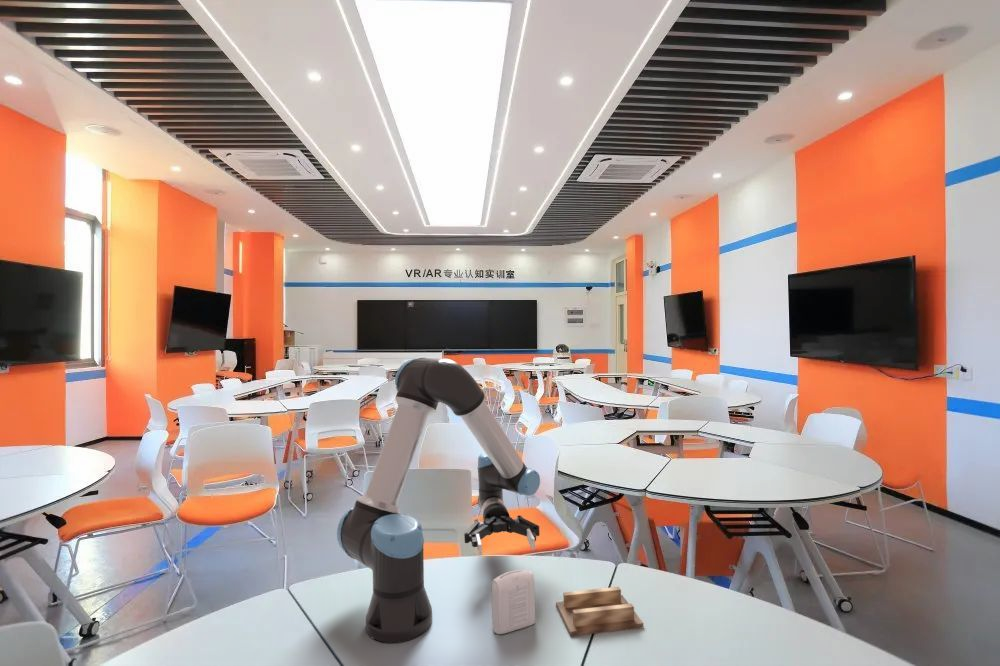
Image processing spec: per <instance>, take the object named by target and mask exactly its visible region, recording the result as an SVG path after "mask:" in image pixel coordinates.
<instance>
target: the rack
mask: <svg viewBox="0 0 1000 666" xmlns="http://www.w3.org/2000/svg"><path fill="white" fill-rule="evenodd" d="M562 595H563V601H556V602H555V607H556V609H557V611H558V613H559V615H560V617H561V619H562V622H563V624H564V626H565V627H566V630H567V632H568V635H569V636H570V637H574V636H583V635H592V634H601V633H609V632H610V633H611V632H619V631H626V629H628V630H636V629H643V628H644V622H643V621H642V620H641V618H640V616H639V615H638V614H637V613H636V611H635V606H634V605H633V603H629V602H628V600H627V599H626V598H625V597H624V596H623V595H622V589H621V588H620V587H619V586H614V587H613V586H612V587H604V588H603V587H602V588H593V589H584V590H583V589H582V590H574V591H567V592H566V591H563V594H562ZM642 627H643V628H642ZM635 628H636V629H635Z"/></svg>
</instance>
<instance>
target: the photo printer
mask: <svg viewBox="0 0 1000 666" xmlns="http://www.w3.org/2000/svg"><path fill="white" fill-rule="evenodd" d="M535 586H536V585H535V578H534V573H533V572H531V571H530V570H528V569H515V570H509V571H507V572H504V573H501V574H500V575H498V576H496V577H495V578H494V579H492V582H491V621H492V622H491V623H492V631H493V632H494V633H495V634H497V635H504V634H506V633H511V632H513V631H517V630H520V629H524V628H527V627H530V626H532V625H534V624H535V622H536V612H535V611H536V610H535V609H536V605H535V604H536V602H535V601H536V598H535V597H536V596H535V593H536V592H535V588H536V587H535Z"/></svg>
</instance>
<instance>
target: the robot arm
mask: <svg viewBox="0 0 1000 666" xmlns="http://www.w3.org/2000/svg"><path fill="white" fill-rule="evenodd" d="M394 377H395V378H394V385H395V389H396V391H397V392H396V394H395V399H394V400H395V401H396V404H397V408H396V411H395V414H394V416H393V419H392V421H391V424H390V426H389V430H388V432H387V435H386V437H385V440H384V443H383V445H382V448H381V450H380V454H379V456H378V459H377V462H376V464H375V467H374V470H373V473H372V475H371V478H370V480H369V482H368V485H367V488H366V491H365V493H364V494H363V495H360V496H359V497H358V498H356V501H355V503H354V506H353V507H351V508H349V510H348V511H346V512H344V514H343V515H342V516H341V518H340V519H339V522H338V524H337V529H336V540H337V542H338V545H339V547H340V548H341V550H342V551H343V552H345V554H346V556H348V557H350V558H351V559H353V560H356V561H357V562H359V563H360V564H362V565H364V566H366V567H368V569H370V570H371V571H372V595H371V599H370V602H369V605H368V609H367V611H366V612H367V613H366V615H365V630H366V634H367V635H368V634H369V635H370V636H371V637H373V638H374V639H373V638H372V639H373V640H375V639H376V640H375V641H377V640H378V642H380V641H382V643H388V644H389V643H391V644H393V643H394V644H395V643H402V642H406V641H410V640H413V639H416V638H418V637H420V636H421V635H422V634H424V633H425V632H426V631H427V630H428V629H429V628H430V626H431V625H432V622H433V609H432V608H433V607H432V605H431V602H430V599H429V596H428V594H427V593H428V592H427V590H426V588H425V576H424V575H425V573H424V572H425V570H424V566H425V565H424V563H425V562H424V561H425V560H424V543H425V538H424V532H423V527H422V525H421V523H420V522H419V520H418V519H416V517H414V516H411V515H407V514H403V515H401V510H400V508H399V506H398V503H399V500H400V496H401V494H402V491H403V487H404V484H405V482H406V479H407V476H408V474H409V471H410V468H411V465H412V462H413V460H414V458H415V457H414V456H415V453H416V450H417V448H418V445H419V442H420V439H421V436H422V434H423V431H424V429H425V425H426V423H427V420H428V417H429V416H430V415H431V414H434V413H436V411H437V407H438V405H439V403H442V404H443V405H445V406H447V407H448V408H449V409H450V410H451V411H452V413H453V414H454V415H455V416H456V417H460V418H461V420H463V423H464V424H465V425H466V426H467V428H468V429H469V430H470V433H471V434H472V435H473V436H474V438H475V439H476V441H477V443H478V444H479V445H480V447H481V448H482V450H483V451H484V453H483V452H482V453H481V454H479V455H478V457H477V477H478V479H477V480H478V481H477V482H478V496H477V505H478V508H479V509H480V513H481V516H482V520H483V521H481V520H479V519H477V518H476V519H474V520H473V523H471V525H470V526H469V528H468V529H466V531H465V532H464V534H463V535H464V537H463V538H464V543H465V544H468V543H471V547H473V548H476V549H477V553H478V556H483V552H482V551H483V549H482V545H483V544H482V540H483V539H484V538H485V537H487V536H491V535H492V534H493V533H494V534H498V533H502V532H503V533H504V532H507V533H510V534H512V533H515V534H517V535H521V536H525V537H526V540H527V541H528V544H529V547H530V548H531V550H532V551H533V550H536V541H537V537H539V536H540V525H538V524H536V523H534V522H532V521H530V520H528V519H526V518H524V517H523V516H522V515H517V516H516V518H513V517H511V516H510V514H509V510H508V509H507V506H506V504H505V502H504V496H503V495H504V493H503V491H504V490H506V491H508V492H512V493H516V494H517V495H523V496H527V497H529V496H534V495H535V494H536V493H537V492H538V490H539V488H540V485H541V478H540V477H541V476H540V473H539V472H538V471H537V470H536V469H532V468H530V467H527V466H526V465H525V462H523V459H522V458H521V457H520V455H519V453H518V451H517V450H516V449H515V447H514V446H513V444H512V442H511V441H510V439H509V437H508V436H507V434H506V433H505V431H504V430H503V428H502V426H501V424H500V423H499V422H498V420H497V418H496V417H495V416H494V413H493V412H492V411H491V409H490V407H489V406H488V405H487V403H486V401H485V398H486V396H485V393H484V391H483V390H482V388H481V386H480V385H479V383H478V382H477V381H476V379H475V378H474V376H472V374H470V373H469V372H468V370H467V369H465V368H464V367H463V366H462V365H461V364H459V363H458V362H456V361H454V360H452V359H449V358H428V357H427V358H426V357H417V358H411V359H408V360H406V361H405V362H403V363H402V364H401V365H400V367H398V369H397V371H396V374H395V376H394ZM369 635H368V636H369ZM370 636H369V637H370ZM371 637H370V638H371Z"/></svg>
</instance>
